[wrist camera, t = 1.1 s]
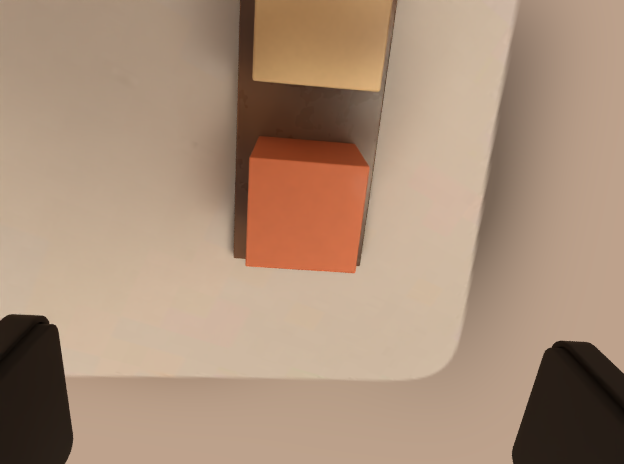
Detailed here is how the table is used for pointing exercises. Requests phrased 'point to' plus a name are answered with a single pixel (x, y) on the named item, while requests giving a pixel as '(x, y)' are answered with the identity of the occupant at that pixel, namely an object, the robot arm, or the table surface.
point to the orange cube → (305, 204)
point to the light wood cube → (321, 42)
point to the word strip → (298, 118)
